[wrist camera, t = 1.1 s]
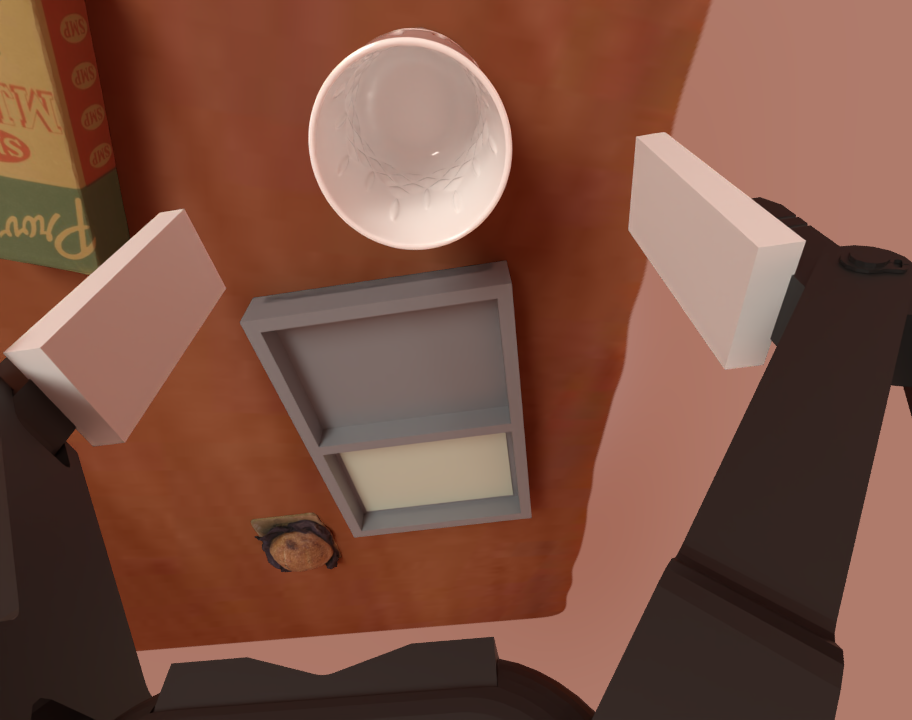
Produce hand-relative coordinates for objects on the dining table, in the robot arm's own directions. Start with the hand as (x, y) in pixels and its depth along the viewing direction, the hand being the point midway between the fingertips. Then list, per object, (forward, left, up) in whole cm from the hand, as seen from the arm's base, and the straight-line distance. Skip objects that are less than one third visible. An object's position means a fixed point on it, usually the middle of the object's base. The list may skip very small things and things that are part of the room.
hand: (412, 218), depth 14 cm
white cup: (0, 0, -16) cm, 16 cm away
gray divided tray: (-5, -24, -16) cm, 29 cm away
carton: (-21, +3, -16) cm, 27 cm away
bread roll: (-22, -42, -17) cm, 50 cm away
